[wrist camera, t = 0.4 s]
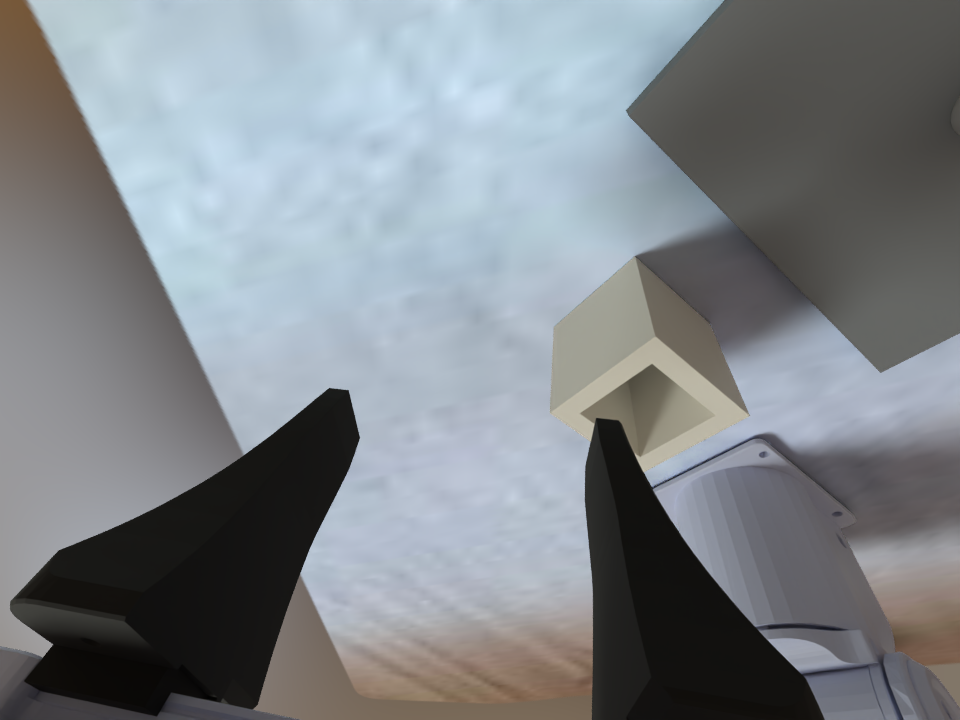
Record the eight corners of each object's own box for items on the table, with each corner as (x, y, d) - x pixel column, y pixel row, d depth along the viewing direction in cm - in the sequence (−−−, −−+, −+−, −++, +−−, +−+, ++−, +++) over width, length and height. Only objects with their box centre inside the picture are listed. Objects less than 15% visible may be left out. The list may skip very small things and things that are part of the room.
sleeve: (709, 323, 21) (749, 415, 16) (624, 382, 24) (638, 475, 19) (634, 256, 20) (655, 336, 15) (553, 326, 22) (549, 412, 18)
